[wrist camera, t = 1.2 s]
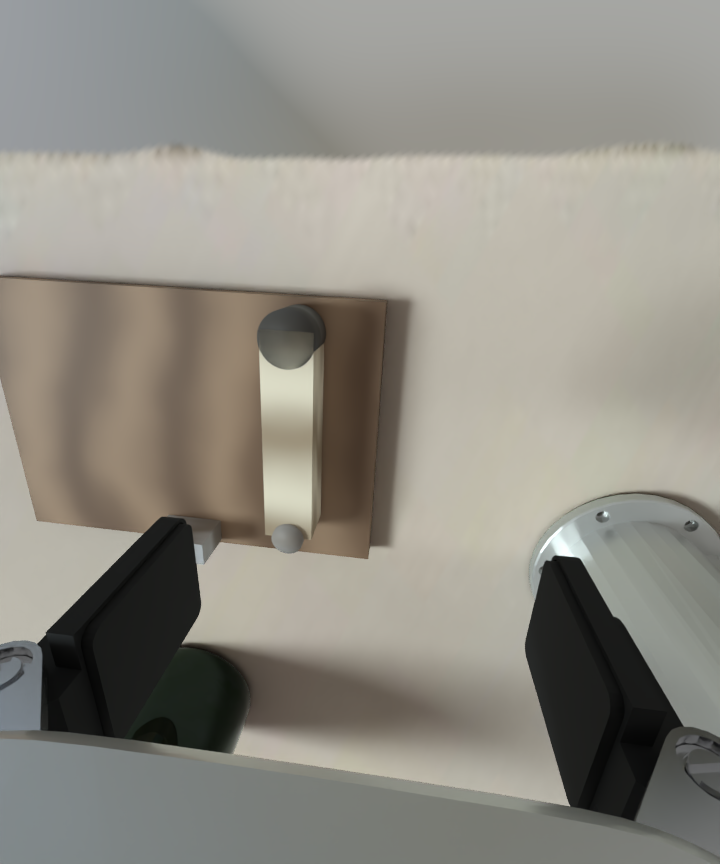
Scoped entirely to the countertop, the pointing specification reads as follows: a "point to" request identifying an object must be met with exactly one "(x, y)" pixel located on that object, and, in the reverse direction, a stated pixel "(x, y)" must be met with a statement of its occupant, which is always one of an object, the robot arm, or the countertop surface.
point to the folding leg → (291, 422)
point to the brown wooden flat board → (179, 408)
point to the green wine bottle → (195, 704)
